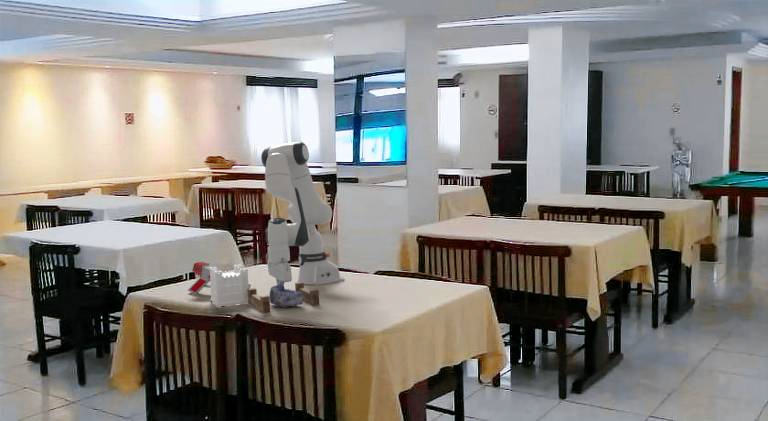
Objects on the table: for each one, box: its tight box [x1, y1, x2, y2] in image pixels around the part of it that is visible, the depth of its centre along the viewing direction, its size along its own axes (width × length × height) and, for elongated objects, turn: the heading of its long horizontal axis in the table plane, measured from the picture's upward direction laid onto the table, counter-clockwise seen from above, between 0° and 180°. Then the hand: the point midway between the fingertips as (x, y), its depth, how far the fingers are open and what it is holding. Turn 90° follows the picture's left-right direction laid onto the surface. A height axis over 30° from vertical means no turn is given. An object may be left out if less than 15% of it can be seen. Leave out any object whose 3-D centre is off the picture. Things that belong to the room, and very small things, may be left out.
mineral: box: [269, 284, 304, 309], centre depth 325 cm, size 14×10×10 cm
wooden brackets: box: [247, 282, 321, 314], centre depth 329 cm, size 25×20×6 cm
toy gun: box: [187, 261, 252, 295], centre depth 354 cm, size 7×28×15 cm, turn 69°
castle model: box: [210, 264, 249, 308], centre depth 336 cm, size 14×14×15 cm
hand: (280, 289), depth 331 cm, fingers closed
